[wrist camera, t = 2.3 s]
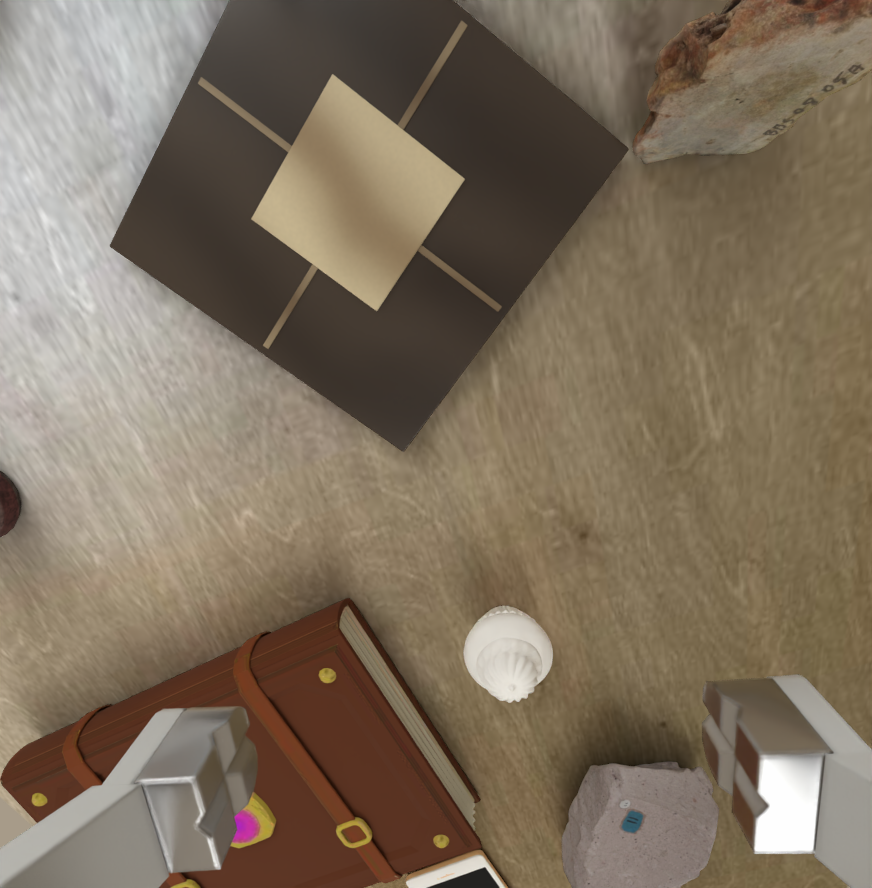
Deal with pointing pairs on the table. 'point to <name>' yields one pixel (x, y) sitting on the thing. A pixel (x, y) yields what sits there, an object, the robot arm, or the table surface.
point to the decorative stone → (639, 827)
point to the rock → (751, 74)
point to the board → (363, 193)
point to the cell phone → (458, 873)
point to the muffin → (508, 653)
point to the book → (292, 760)
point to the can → (8, 505)
